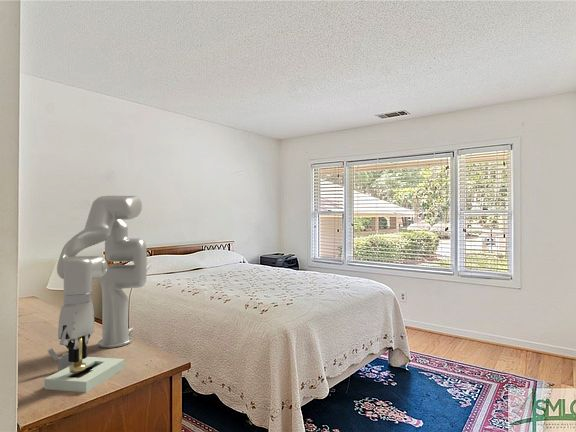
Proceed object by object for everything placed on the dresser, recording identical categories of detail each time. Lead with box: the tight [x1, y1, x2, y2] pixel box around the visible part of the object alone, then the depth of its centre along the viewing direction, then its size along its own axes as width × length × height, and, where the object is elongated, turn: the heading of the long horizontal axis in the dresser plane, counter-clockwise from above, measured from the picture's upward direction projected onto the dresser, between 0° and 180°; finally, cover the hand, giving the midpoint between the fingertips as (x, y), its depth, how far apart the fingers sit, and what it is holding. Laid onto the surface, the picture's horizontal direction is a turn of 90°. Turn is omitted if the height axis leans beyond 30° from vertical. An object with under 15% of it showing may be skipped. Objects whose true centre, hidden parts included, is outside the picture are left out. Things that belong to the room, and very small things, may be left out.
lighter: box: [47, 347, 73, 372], centre depth 121 cm, size 7×2×8 cm, turn 127°
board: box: [43, 356, 126, 393], centre depth 115 cm, size 18×14×3 cm
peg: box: [69, 337, 87, 374], centre depth 111 cm, size 4×4×10 cm
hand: (77, 359), depth 111 cm, fingers closed on peg, 2 cm apart
